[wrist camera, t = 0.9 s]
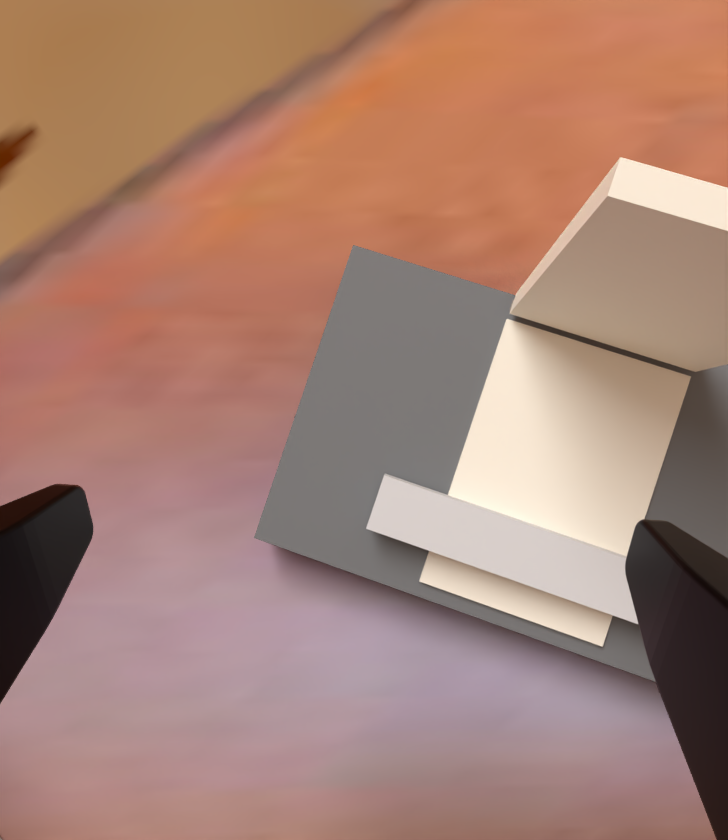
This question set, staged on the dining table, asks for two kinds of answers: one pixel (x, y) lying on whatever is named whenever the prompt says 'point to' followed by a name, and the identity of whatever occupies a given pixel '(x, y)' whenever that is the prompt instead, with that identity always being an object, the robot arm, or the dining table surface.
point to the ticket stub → (641, 269)
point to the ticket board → (494, 458)
